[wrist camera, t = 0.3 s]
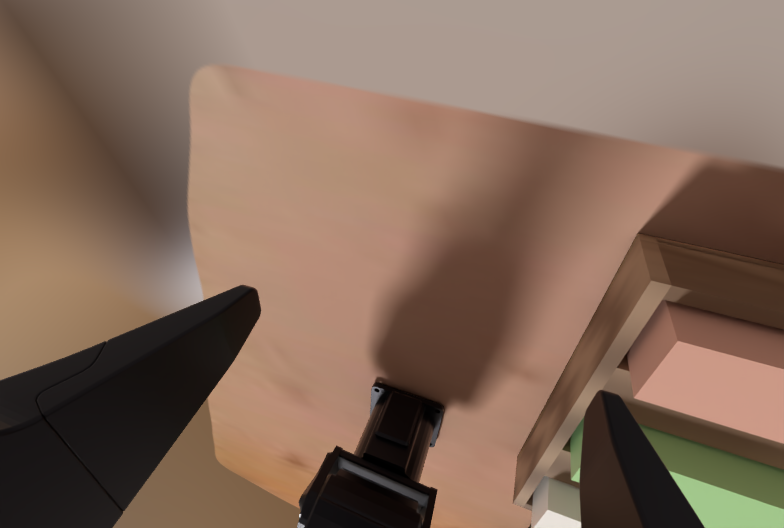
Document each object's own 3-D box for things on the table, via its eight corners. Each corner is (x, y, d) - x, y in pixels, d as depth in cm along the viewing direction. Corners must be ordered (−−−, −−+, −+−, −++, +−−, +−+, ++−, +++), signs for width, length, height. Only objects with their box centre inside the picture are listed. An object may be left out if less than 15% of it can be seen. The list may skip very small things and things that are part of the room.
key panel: (688, 517, 31) (701, 576, 28) (517, 456, 34) (513, 503, 31) (977, 306, 17) (1066, 380, 14) (637, 233, 20) (651, 280, 17)
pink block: (871, 404, 19) (929, 488, 16) (624, 337, 21) (633, 398, 18) (949, 350, 16) (1036, 437, 13) (659, 281, 19) (677, 341, 16)
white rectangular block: (685, 533, 29) (698, 597, 26) (534, 478, 32) (530, 531, 29) (715, 512, 27) (734, 580, 24) (549, 453, 29) (547, 509, 26)
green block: (758, 483, 24) (785, 556, 21) (570, 421, 27) (570, 479, 24) (804, 451, 22) (842, 529, 19) (592, 386, 24) (596, 446, 21)
